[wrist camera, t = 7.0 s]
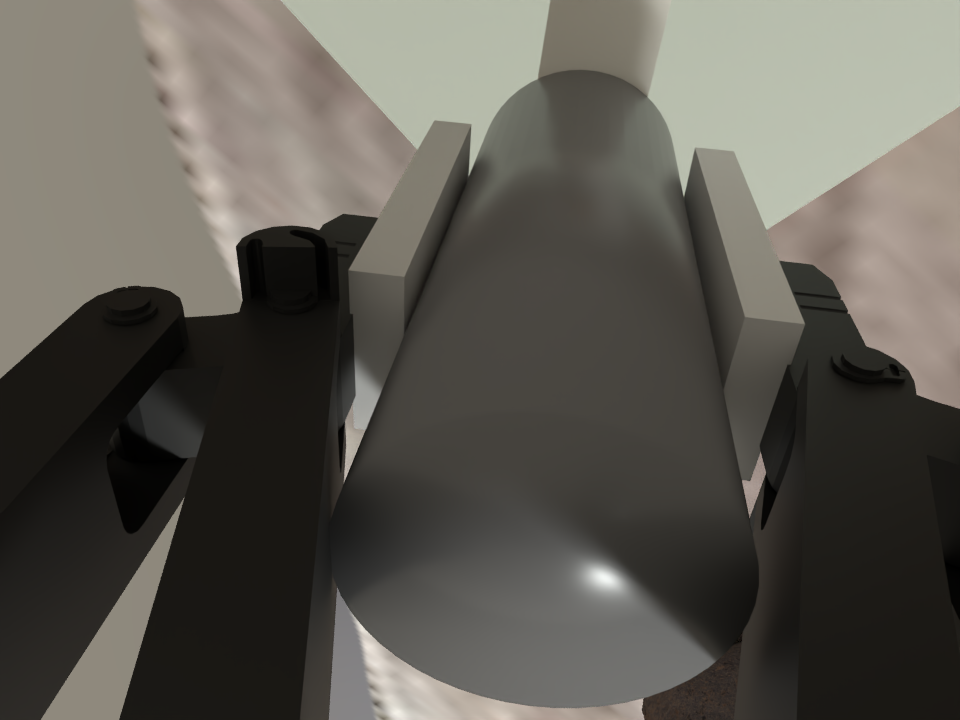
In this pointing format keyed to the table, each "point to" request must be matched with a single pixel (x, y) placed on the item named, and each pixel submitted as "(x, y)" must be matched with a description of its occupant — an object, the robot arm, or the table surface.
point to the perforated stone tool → (700, 693)
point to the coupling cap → (557, 410)
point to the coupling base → (680, 76)
